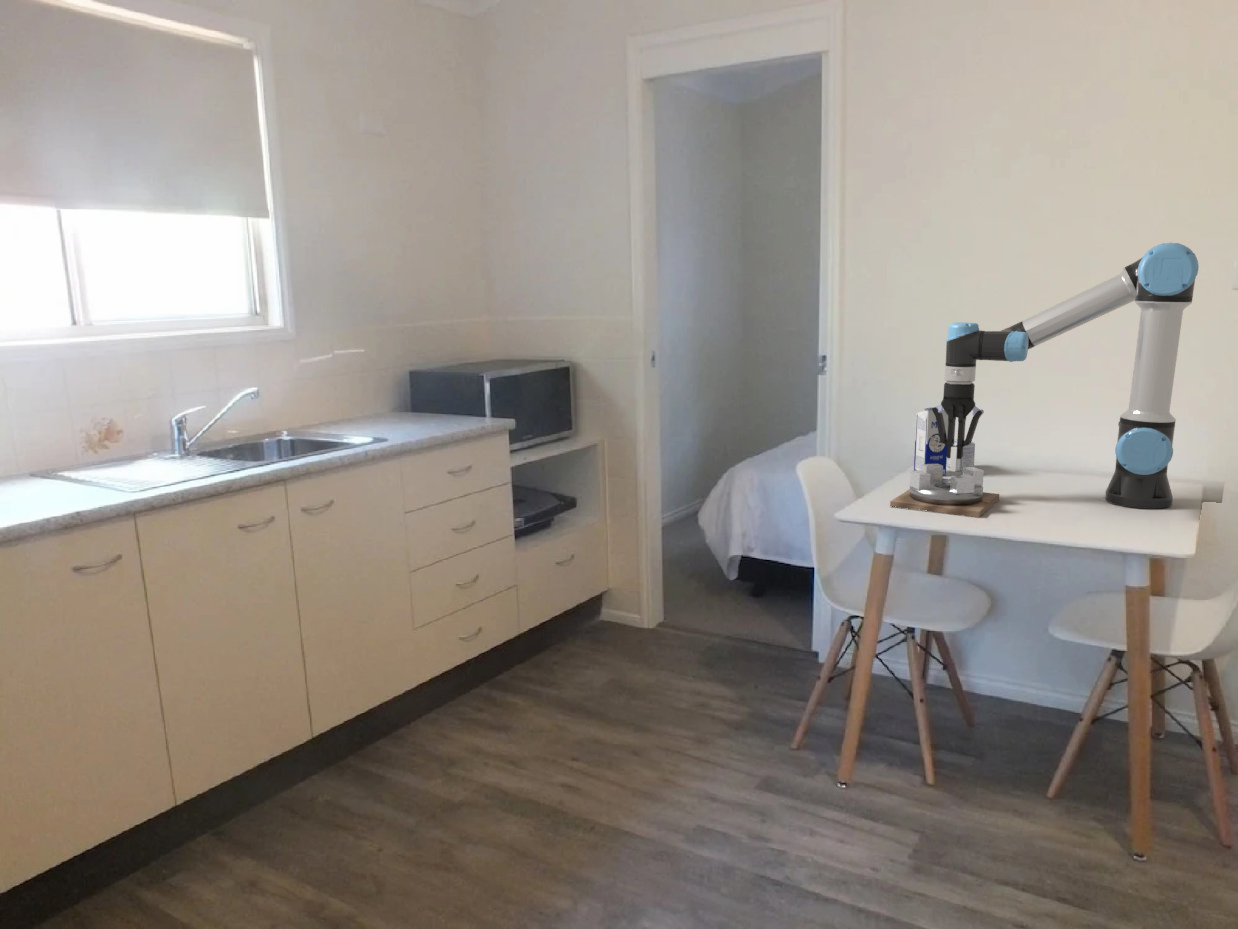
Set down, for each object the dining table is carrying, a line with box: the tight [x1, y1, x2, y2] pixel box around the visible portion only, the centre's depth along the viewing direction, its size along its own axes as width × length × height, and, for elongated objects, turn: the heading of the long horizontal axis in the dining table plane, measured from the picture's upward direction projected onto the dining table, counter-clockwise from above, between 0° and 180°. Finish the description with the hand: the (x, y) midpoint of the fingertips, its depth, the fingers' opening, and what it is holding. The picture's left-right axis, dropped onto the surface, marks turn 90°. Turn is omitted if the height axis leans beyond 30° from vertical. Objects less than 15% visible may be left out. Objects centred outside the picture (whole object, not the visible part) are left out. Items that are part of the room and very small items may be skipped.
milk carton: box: [913, 406, 948, 476], centre depth 277 cm, size 7×7×20 cm
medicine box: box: [946, 438, 976, 472], centre depth 284 cm, size 8×4×9 cm, turn 14°
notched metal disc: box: [909, 464, 985, 505], centre depth 242 cm, size 18×18×7 cm
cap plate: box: [889, 488, 1000, 518], centre depth 243 cm, size 22×22×2 cm
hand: (953, 470), depth 248 cm, fingers closed
